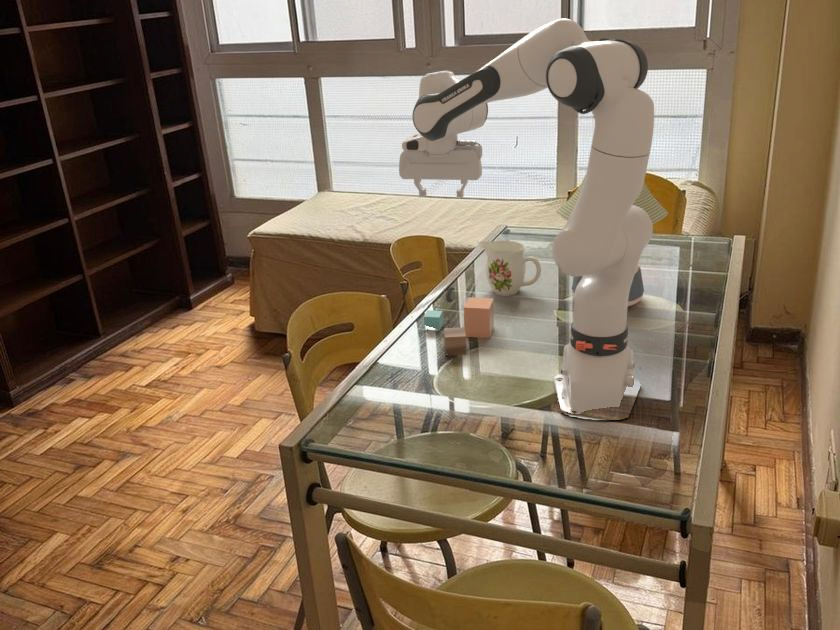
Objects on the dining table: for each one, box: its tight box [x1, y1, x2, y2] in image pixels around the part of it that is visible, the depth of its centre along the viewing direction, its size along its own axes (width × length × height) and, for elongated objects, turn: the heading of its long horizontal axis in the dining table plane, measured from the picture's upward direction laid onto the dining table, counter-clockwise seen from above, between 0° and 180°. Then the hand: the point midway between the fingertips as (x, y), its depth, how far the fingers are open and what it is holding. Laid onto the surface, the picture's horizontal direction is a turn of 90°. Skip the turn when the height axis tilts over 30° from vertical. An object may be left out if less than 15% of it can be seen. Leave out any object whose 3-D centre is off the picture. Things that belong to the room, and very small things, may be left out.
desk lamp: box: [555, 174, 669, 307], centre depth 209 cm, size 26×28×42 cm
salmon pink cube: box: [463, 296, 495, 339], centre depth 202 cm, size 6×6×8 cm
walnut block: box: [443, 326, 467, 356], centre depth 194 cm, size 5×5×5 cm
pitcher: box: [477, 240, 542, 297], centre depth 224 cm, size 11×18×14 cm, turn 67°
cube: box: [423, 309, 444, 331], centre depth 206 cm, size 4×4×4 cm
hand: (441, 196), depth 198 cm, fingers open, 8 cm apart
